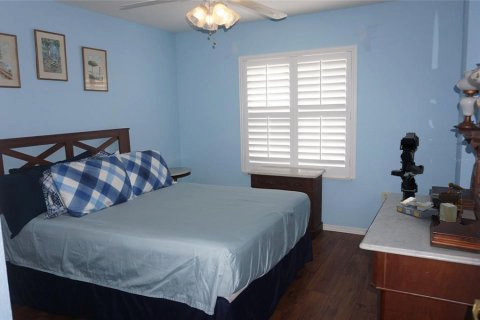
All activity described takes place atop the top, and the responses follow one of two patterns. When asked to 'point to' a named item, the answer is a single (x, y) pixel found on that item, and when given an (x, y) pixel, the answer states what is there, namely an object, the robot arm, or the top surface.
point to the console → (416, 211)
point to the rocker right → (424, 206)
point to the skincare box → (448, 212)
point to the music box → (452, 198)
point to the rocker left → (406, 202)
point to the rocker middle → (415, 203)
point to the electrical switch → (436, 201)
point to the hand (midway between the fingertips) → (406, 187)
